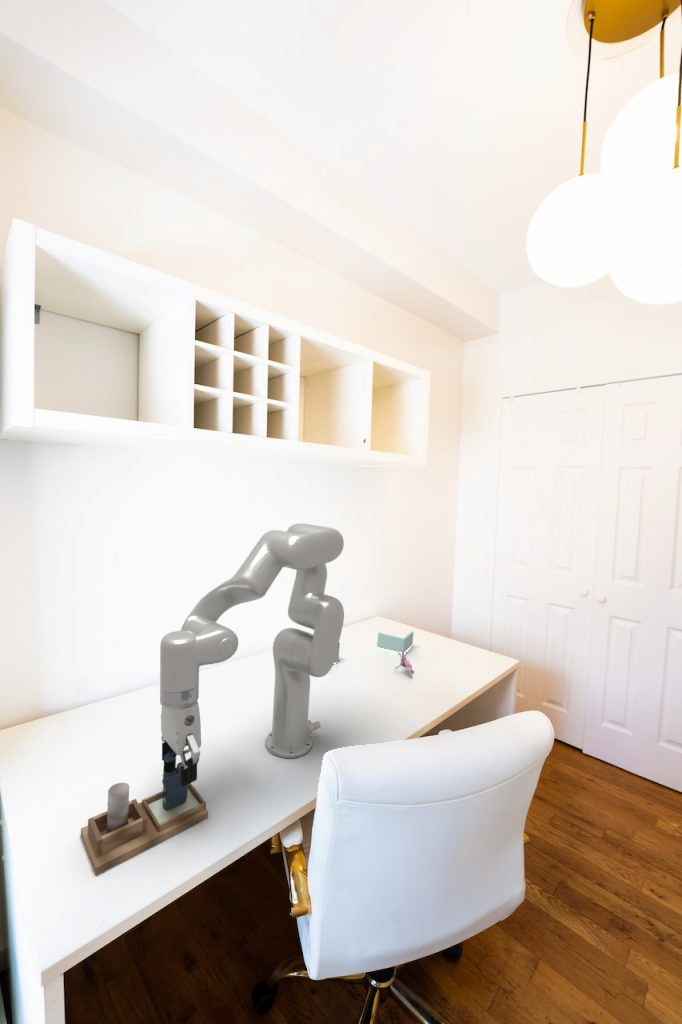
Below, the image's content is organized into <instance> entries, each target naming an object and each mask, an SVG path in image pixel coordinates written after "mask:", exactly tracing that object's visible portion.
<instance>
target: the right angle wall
mask: <svg viewBox="0 0 682 1024" xmlns="http://www.w3.org/2000/svg"><path fill="white" fill-rule="evenodd" d="M413 642H414V631H410V632H409V633H408V634H406V635H405V636H404V637H400V636H396V635H391V634H387V633H383V632H378V633H377V643H376V645H377V647H380V648H384V649H389V650H393V651H397V652H401V649H400V647H401V648H402V650H403V652H405V651H406V650H407V649H408V648H409V647H410V646H411V645H412V644H413ZM399 645H400V646H399ZM413 645H414V644H413ZM413 645H412V646H413ZM377 647H376V648H377Z"/></svg>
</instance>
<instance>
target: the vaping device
mask: <svg viewBox="0 0 682 1024" xmlns="http://www.w3.org/2000/svg"><path fill="white" fill-rule="evenodd" d="M182 766H183V765H182V761H179V762H178V763H177V756H176V754H175V753H173V751H172V750H170V751H168V754H166V755H165V756H164V761H163V774H162V780H161V781H162V788H163V789H162V791H163V804H162V805H163V809H165V810H166V811H167V810H170V809H172V808H174V807H177V806H179V805H181V804H183V803H185V802H186V799H187V792H188V784H187V785H185V786H181V767H182Z"/></svg>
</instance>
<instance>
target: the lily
mask: <svg viewBox="0 0 682 1024" xmlns="http://www.w3.org/2000/svg"><path fill="white" fill-rule="evenodd" d="M399 646H400V645H399ZM400 649H401V652H402V656H401V654H400V653H398V654H399V655H400V656H399V655H398V656H399V657H400V663H399V664H398V665H397V666H396V667H395V669H396V670H397V669H398V668H399V667H403V668H405V669H406V670H407V671H408V672H409V673H410V671H412V667H413V665H412V664H411V663H410V660H409V659H407V657H406V654H405V655H404V652H403V650H402V648H401V647H400Z"/></svg>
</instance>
